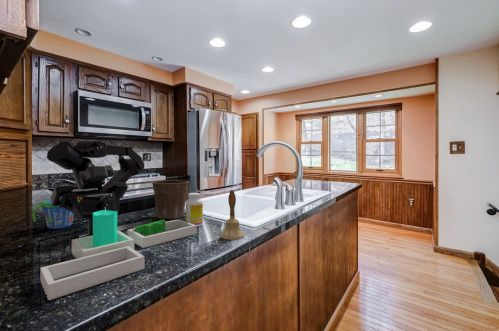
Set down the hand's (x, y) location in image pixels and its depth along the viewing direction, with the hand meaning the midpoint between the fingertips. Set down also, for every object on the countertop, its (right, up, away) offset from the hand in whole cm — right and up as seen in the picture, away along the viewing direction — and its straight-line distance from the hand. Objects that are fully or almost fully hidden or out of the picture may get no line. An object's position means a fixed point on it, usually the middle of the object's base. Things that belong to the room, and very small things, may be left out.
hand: (101, 215), depth 68 cm
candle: (+1, -10, -1) cm, 10 cm away
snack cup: (-31, -10, +24) cm, 41 cm away
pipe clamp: (+9, -10, +14) cm, 20 cm away
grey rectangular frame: (+7, -11, -13) cm, 18 cm away
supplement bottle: (+20, -10, +28) cm, 36 cm away
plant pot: (+6, -9, +42) cm, 44 cm away
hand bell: (+36, -11, +16) cm, 41 cm away
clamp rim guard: (+12, -10, +14) cm, 21 cm away
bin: (+1, -10, -1) cm, 11 cm away
